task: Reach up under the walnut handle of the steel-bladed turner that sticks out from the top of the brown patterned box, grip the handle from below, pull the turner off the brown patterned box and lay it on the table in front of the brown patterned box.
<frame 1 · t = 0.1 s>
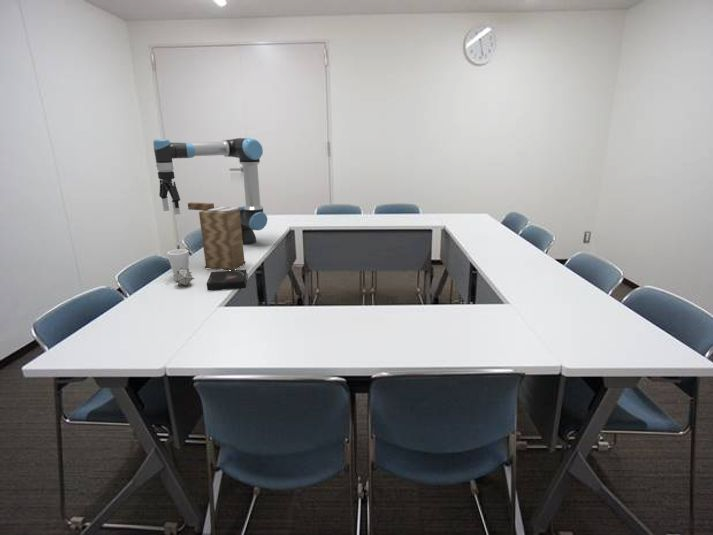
hand: (171, 212, 210), 28 cm above the table, tool pointing down, fingers open, 13 cm apart
grey spiky ball: (184, 285, 188), on the table
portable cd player: (228, 284, 191), on the table
foam cup: (181, 277, 198), on the table
turner: (212, 210, 206), point 30 cm above the table, touching brown patterned box
brown patterned box: (225, 265, 215), on the table
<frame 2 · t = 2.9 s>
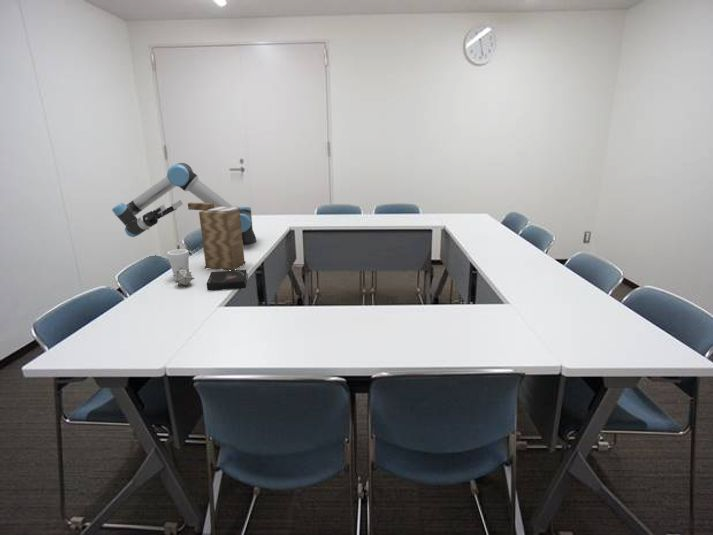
hand: (173, 204, 222), 30 cm above the table, tool pointing upward, fingers open, 13 cm apart
nothing on the table moved.
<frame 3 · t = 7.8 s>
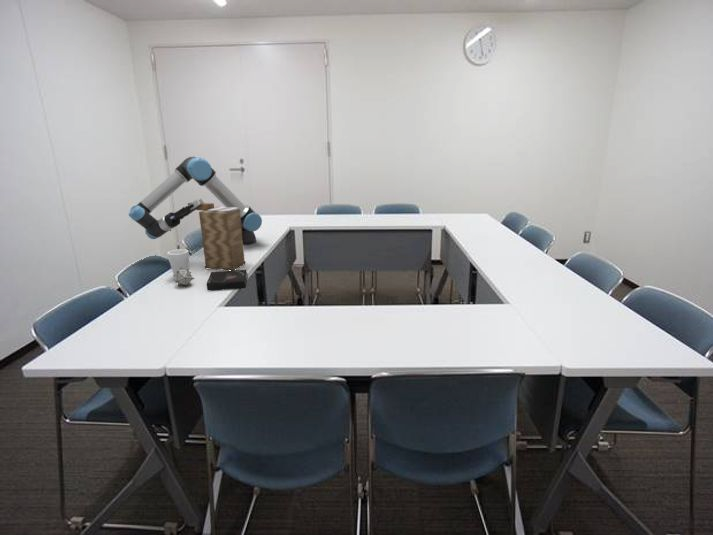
hand: (200, 201, 206), 34 cm above the table, tool pointing upward, fingers closed on turner, 3 cm apart
turner: (212, 210, 206), point 30 cm above the table, touching gripper, brown patterned box
everything else where it was.
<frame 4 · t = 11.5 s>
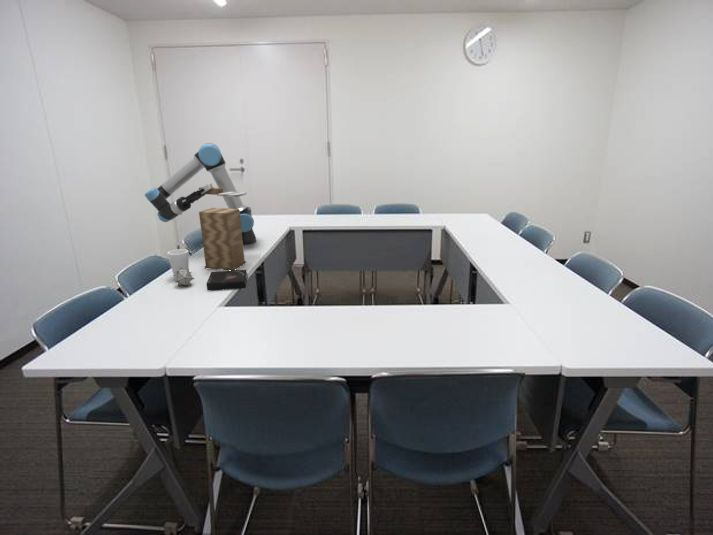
hand: (211, 186, 219), 40 cm above the table, tool pointing upward, fingers closed on turner, 3 cm apart
turner: (222, 194, 219), point 36 cm above the table, touching gripper
everything else where it was.
when the fingers open (14 cm above the table, at t = 15.2 s): turner drops 7 cm, on the table.
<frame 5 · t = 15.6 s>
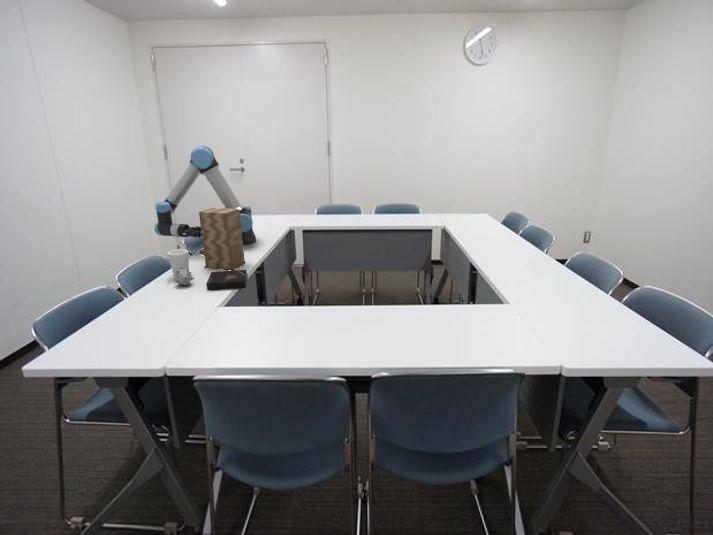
hand: (216, 232, 227), 14 cm above the table, tool horizontal, fingers open, 8 cm apart
turner: (221, 256, 231), on the table
everything else where it was.
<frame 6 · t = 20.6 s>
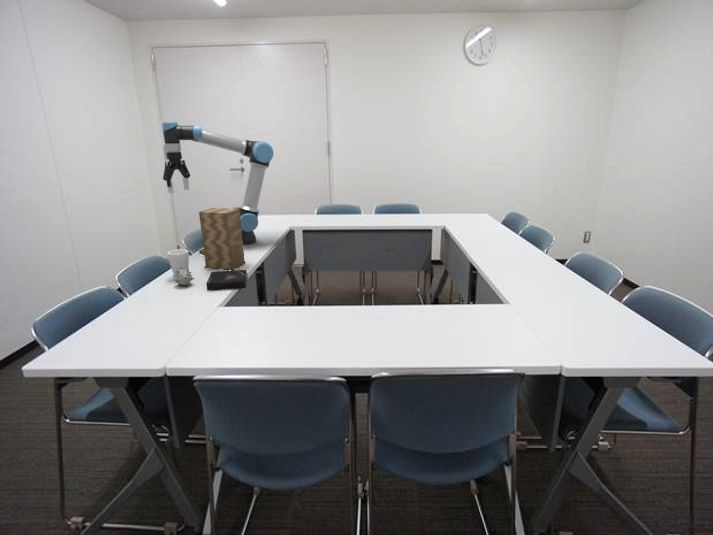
hand: (179, 191, 224), 37 cm above the table, tool pointing down, fingers open, 13 cm apart
nothing on the table moved.
at the end: turner inside the target area (3.8 cm from its centre), on the table; turner moved 34.5 cm from its start; the gripper is holding nothing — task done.
